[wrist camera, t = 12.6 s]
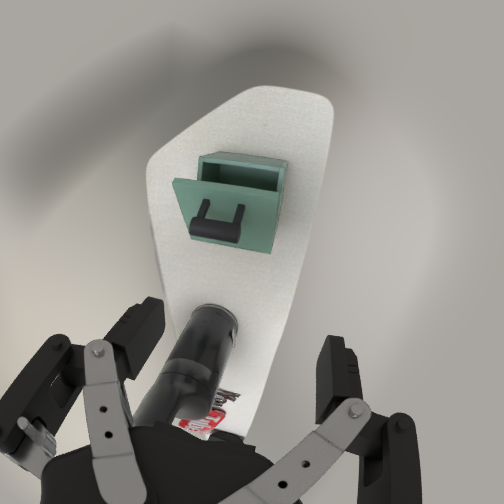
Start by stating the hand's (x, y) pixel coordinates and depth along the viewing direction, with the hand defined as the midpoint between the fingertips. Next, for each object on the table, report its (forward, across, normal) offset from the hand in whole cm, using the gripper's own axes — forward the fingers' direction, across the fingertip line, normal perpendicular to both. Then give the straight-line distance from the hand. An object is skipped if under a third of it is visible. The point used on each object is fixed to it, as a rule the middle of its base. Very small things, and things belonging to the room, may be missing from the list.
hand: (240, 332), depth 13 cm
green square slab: (+18, +5, +1) cm, 19 cm away
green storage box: (+30, +5, 0) cm, 31 cm away
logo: (+26, +13, +57) cm, 64 cm away
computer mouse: (+26, +3, +75) cm, 79 cm away
